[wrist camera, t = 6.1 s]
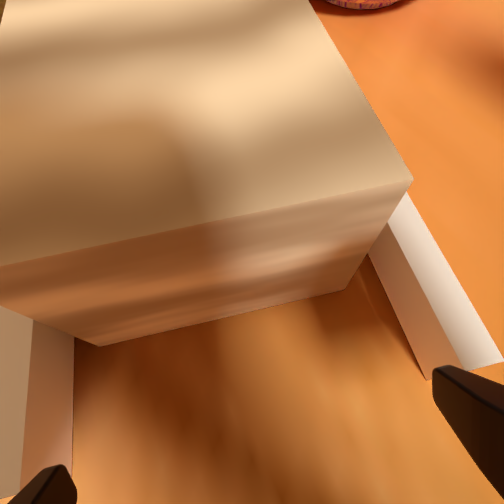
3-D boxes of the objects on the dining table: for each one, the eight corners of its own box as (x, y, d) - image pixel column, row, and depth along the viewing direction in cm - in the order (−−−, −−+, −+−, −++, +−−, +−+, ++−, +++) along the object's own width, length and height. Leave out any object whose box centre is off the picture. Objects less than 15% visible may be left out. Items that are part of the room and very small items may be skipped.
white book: (458, 371, 14) (525, 356, 10) (32, 487, 12) (-61, 517, 9) (298, 58, 24) (304, -3, 21) (57, 104, 23) (19, 46, 19)
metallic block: (343, 291, 16) (414, 179, 8) (101, 347, 15) (-64, 279, 8) (266, 88, 23) (266, -71, 16) (99, 119, 22) (14, -33, 15)
